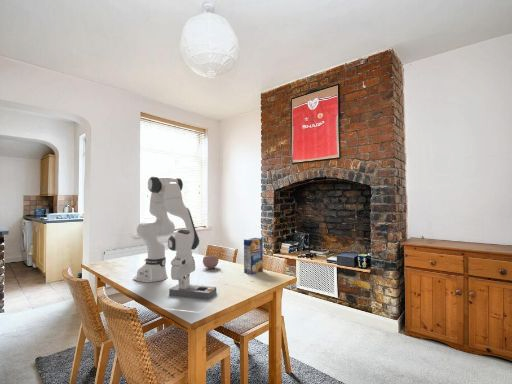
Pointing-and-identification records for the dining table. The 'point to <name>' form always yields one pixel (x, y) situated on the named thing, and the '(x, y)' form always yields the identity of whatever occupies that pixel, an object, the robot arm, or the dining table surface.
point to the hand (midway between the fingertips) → (184, 283)
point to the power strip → (193, 292)
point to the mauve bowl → (210, 261)
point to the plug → (185, 283)
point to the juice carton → (253, 255)
